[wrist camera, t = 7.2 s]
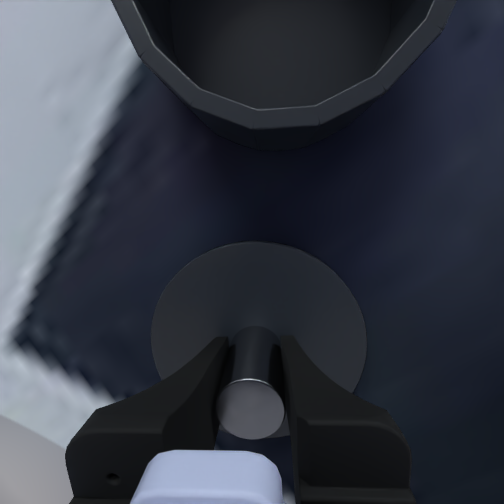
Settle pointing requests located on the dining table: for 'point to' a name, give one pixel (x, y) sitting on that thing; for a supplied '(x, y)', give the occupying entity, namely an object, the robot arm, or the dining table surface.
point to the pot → (280, 59)
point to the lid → (258, 327)
